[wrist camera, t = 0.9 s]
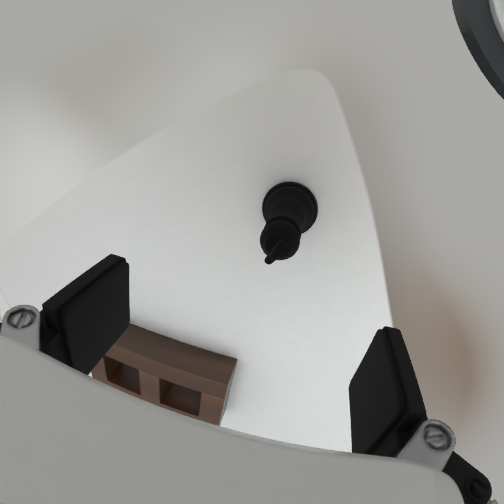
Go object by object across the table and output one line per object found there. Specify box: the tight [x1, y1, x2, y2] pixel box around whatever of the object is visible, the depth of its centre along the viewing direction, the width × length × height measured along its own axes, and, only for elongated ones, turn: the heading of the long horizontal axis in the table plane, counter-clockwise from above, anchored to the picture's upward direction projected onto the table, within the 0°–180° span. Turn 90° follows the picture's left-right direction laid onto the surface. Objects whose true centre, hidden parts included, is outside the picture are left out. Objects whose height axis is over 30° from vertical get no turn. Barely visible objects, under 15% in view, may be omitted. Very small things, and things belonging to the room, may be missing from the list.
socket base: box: [91, 324, 237, 426], centre depth 33 cm, size 10×17×4 cm, turn 79°
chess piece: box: [260, 182, 318, 264], centre depth 20 cm, size 4×4×10 cm
